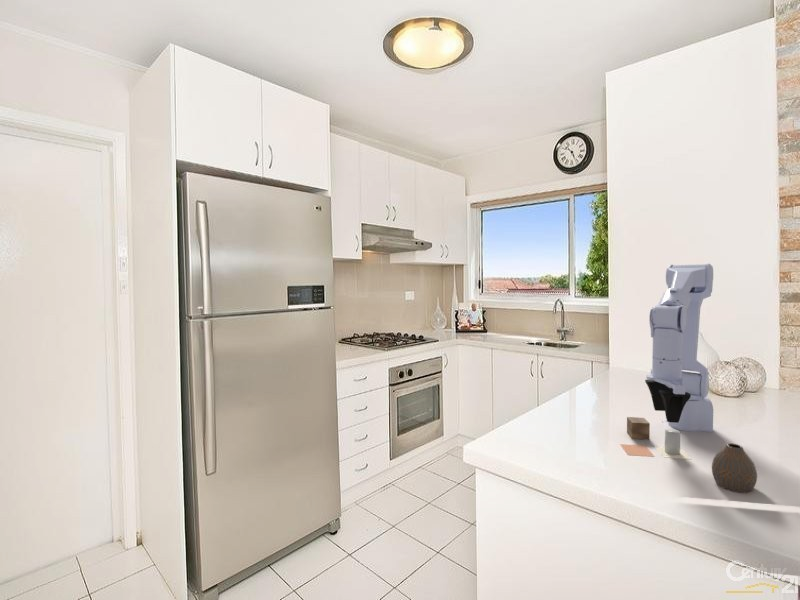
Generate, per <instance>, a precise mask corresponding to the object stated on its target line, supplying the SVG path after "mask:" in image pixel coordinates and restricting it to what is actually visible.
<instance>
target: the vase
mask: <svg viewBox="0 0 800 600" xmlns="http://www.w3.org/2000/svg"><path fill="white" fill-rule="evenodd" d="M757 471H758V470H757V469H756V466H755V463H754V461H753V460H752V459H751V458H750V456H749V455H748V454H747V452H746V451H745V449H744V448H743V446H741V445H740V444H736V443H727V444H726V445H725V447H724V448H722V449H721V450H720V451H719V452H717V453H716V455H715V456H714V457H713V459H712V463H711V473H712V477H713V479H714V481H715V483H716V484H717V485H718V486H720V487H721V488H723V489H726V490H727V491H732V492H736V493H742V494H743V493H750V492H751V491H753V490H754V488H755V486H756V485H757V481H758V473H757Z"/></svg>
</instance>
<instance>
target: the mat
mask: <svg viewBox="0 0 800 600" xmlns="http://www.w3.org/2000/svg"><path fill="white" fill-rule="evenodd" d="M619 445H620V447H622V449H623V450H624V452H625V453H626V455H627V456H633V457H634V456H636V457H637V456H638V457H639V456H640V457H651V458H652V457H653V458H654V457H655V455H653V453H652V452H651V450H650V449H648V447H647V446H646V445H644V444H641V445H639V444H627V443H626V444H624V443H620V444H619ZM654 448H655V449H656V450H657V451H658V452H659V454H660V455H661V456H662V458H668V459H684V460H692V457H690V456H689V455H688V454H687V452H685V451H684V450H683V449H682V448H681V447H680V455H671V454H668V453H666V452H665V446H659V445H657V446H656V445H654Z"/></svg>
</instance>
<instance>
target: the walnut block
mask: <svg viewBox="0 0 800 600" xmlns="http://www.w3.org/2000/svg"><path fill="white" fill-rule="evenodd" d="M650 425H651V424H650V422H649V421H648V420H647V419H646V418H645V417H635V416H626V433H627V435H629V437H630V439H631V440H650V433H651V432H650V431H651V430H650V428H651V427H650Z"/></svg>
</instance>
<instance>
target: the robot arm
mask: <svg viewBox="0 0 800 600" xmlns="http://www.w3.org/2000/svg"><path fill="white" fill-rule="evenodd" d="M713 281H714V268H713V265H712V264H711V263H706V264H703V263H702V264H669V265H668V266H667V268H666V271H665V283H666V286H667V288H668V289H667V290H665V291H664V292H663V294H662V296H661V297H660V300H659V302H658V304H656V305H655V307H651V308H650V312H649V327H650V337H651V338H652V360H651V361H652V363H651V365H652V366H651V367H652V368H650V375H646V379H645V380H644V381H645V384H646V386H647V388H648V390H649V392H650V396H651V399H652V404H653V405H652V406H653V409H654V411H658V412H659V411H661V412H665V418H666V420H661V421H662V422H661V423H665V424H667V425H668V426H670V427H671V428H672V429H675V430H678V431H679V430H680V431H687V432H714V406H713V402H712V400H711V399H710V398H709V397H708V394H709V389H710V378H709V370H708V368H707V367H706V366H705V365H704V364H702V363H701V362H700V361H698V359H697V358H698V349H699V348H698V345H699V344H698V343H699V334H700V332H699V331H700V321H701V320H700V319H701V307H702V305H703V301H704V300H705V299H707V298H710V297H711V296H712V293H713V285H714V284H713V283H714V282H713Z"/></svg>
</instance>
